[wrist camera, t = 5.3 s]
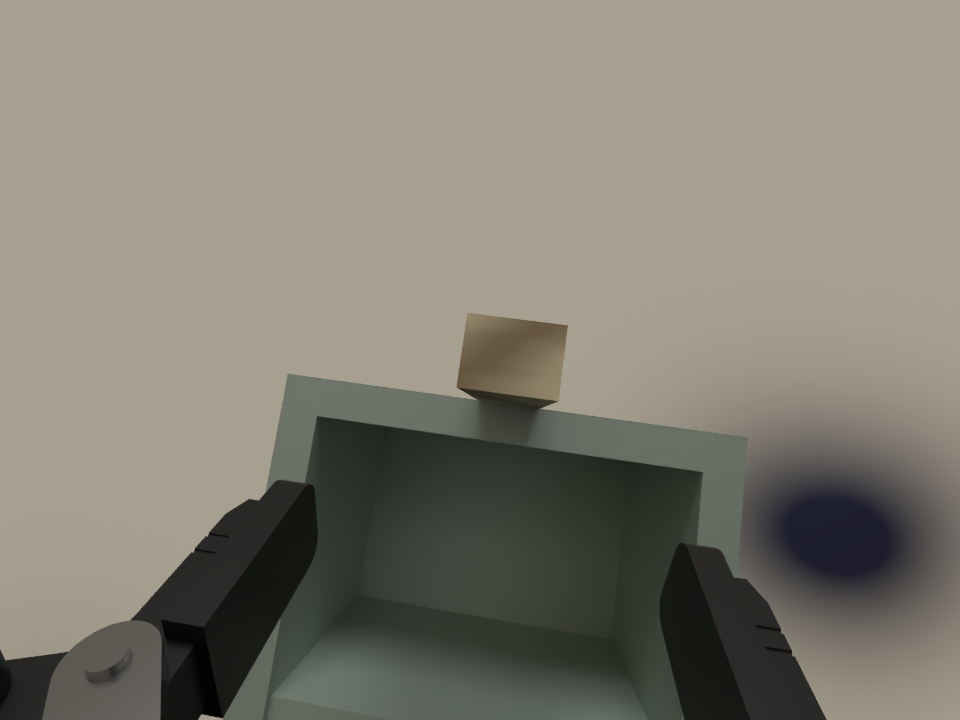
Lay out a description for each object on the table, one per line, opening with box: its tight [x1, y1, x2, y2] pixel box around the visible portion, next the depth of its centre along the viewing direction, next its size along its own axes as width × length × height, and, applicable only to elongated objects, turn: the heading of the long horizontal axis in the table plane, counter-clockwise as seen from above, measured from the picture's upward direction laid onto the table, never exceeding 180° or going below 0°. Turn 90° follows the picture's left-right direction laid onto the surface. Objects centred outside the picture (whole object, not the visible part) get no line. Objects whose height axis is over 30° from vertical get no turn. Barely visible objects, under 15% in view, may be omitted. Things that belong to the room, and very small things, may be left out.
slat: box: [457, 313, 568, 409], centre depth 28 cm, size 3×26×2 cm, turn 176°
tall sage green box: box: [223, 374, 747, 720], centre depth 31 cm, size 24×16×32 cm, turn 86°
